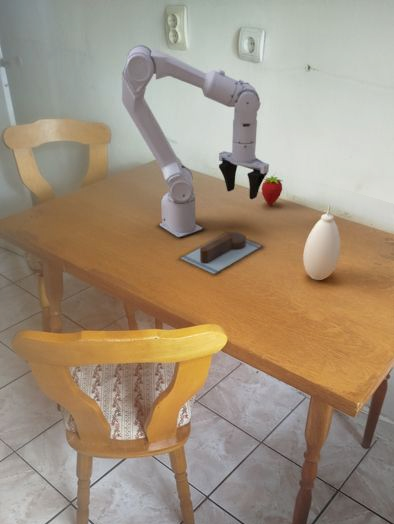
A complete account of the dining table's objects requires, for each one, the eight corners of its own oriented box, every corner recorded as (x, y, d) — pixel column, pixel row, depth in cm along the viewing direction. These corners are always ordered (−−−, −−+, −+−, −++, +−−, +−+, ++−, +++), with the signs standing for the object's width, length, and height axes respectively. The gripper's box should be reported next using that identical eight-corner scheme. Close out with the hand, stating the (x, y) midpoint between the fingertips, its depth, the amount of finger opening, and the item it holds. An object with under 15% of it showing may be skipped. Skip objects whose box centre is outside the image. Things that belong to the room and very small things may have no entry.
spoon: (210, 266, 121) (210, 254, 118) (193, 259, 124) (193, 246, 121) (250, 244, 129) (251, 231, 127) (233, 237, 132) (233, 225, 130)
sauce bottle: (327, 290, 113) (341, 215, 101) (295, 281, 116) (305, 206, 104) (339, 274, 118) (353, 201, 106) (308, 266, 121) (318, 193, 109)
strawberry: (281, 201, 150) (284, 167, 144) (279, 212, 144) (283, 177, 138) (261, 200, 151) (263, 166, 145) (259, 210, 145) (261, 176, 139)
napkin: (181, 258, 124) (181, 257, 124) (228, 233, 134) (228, 232, 134) (214, 274, 119) (214, 273, 118) (261, 247, 129) (261, 245, 128)
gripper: (278, 142, 121) (273, 196, 130) (231, 130, 129) (230, 182, 137) (260, 149, 117) (256, 205, 126) (213, 137, 125) (213, 190, 133)
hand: (241, 194), depth 131 cm, fingers open, 7 cm apart
